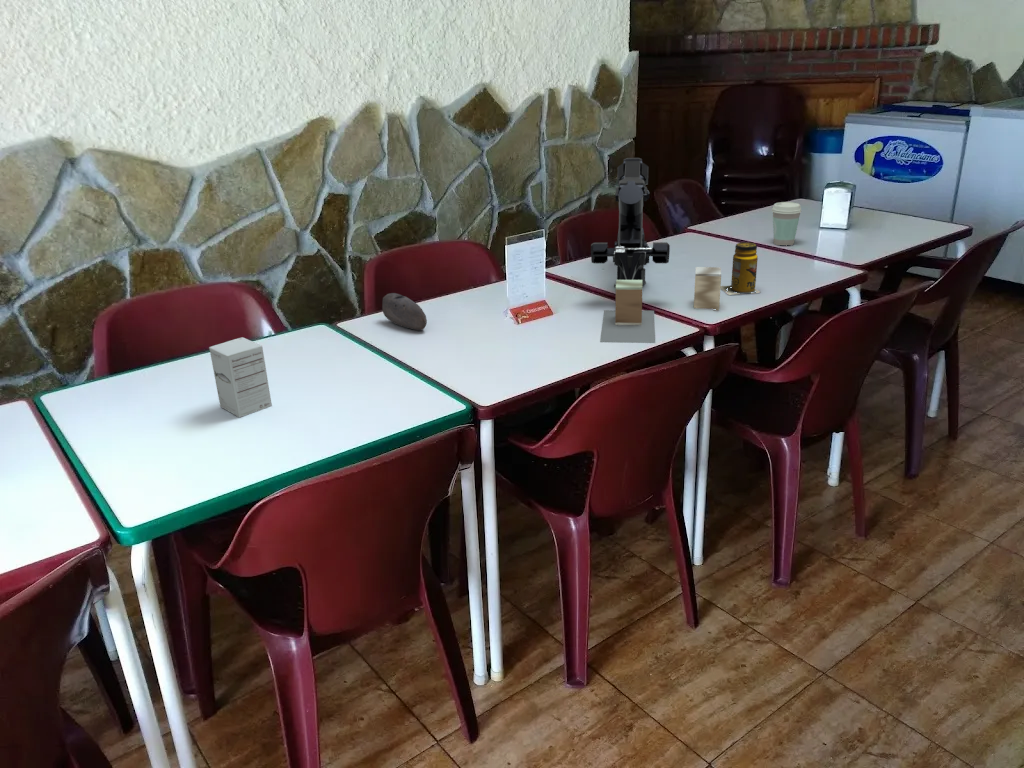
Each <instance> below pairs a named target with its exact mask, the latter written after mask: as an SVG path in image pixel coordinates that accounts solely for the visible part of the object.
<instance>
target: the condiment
mask: <svg viewBox="0 0 1024 768" xmlns="http://www.w3.org/2000/svg"><path fill="white" fill-rule="evenodd" d="M757 249H758V246H757V244H756V243H754V242H746V241H745V242H738V243H736V244H735V249H734V254H733V255H732V256H733V257H732V267H731V270H732V271H731V280H730V281H731V283H730V284H731V285H721V288H720V290H721V291H723V292H724V293H726V294H727V295H728V296H731V295H741V294H740V293H751V292H755V291H756V293H755V294H759V293H761V291H759V290H758V289H757V288H756V283H757V268H758V259H759V258H758V257H759V256H758V254H757ZM730 287H732V288H730ZM727 288H728V291H727V290H726V289H727ZM726 291H727V292H726ZM734 292H737V293H734ZM751 294H753V293H751Z"/></svg>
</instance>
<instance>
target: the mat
mask: <svg viewBox="0 0 1024 768" xmlns="http://www.w3.org/2000/svg"><path fill="white" fill-rule="evenodd" d="M615 311H616V309H615V310H614V309H607V310H604V309H603V316H602V324H601V331H600V332H601V333H600V340H599V342H600V343H622V344H623V343H629V344H631V343H632V344H633V343H637V344H644V343H645V344H656V330H655V329H656V325H655V310H642V325H615Z"/></svg>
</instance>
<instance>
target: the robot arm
mask: <svg viewBox="0 0 1024 768" xmlns="http://www.w3.org/2000/svg"><path fill="white" fill-rule="evenodd" d="M616 181H617V185H618V186H616V187H615V202H618V211H619V212H618V233H617V237H616V238H617V240H616V241H614V247H609V245H608V242H592V243H591V244H590V259H591V260H590V261H591V263H592V264H606V263H607V262H608V260H609V259H608V257H611V258H612V263H614V266H615V267H616V266H617V267H616V268H617V269H616V270H617V271H616V272H617V273H616V275H617V276H616V280H642V287H643V286H644V285H646V283H647V281H646V268H645V267H644V266H647V264H650V257H652V258H651V260H652V262H653V263H655V264H668V263H669V261H670V251H671V245H670V243H669V242H667V241H665V242H663V241H662V242H661V241H659V242H656V241H655V242H653V243H652V247H650V246H649V245H648V241H645V232H644V227H643V216H644V215H643V212H644V211H643V207H644V204H645V202H647V201H648V199H650V191H649V190H648V186H646V185H649V166H648V165H647V164H646V163H644V162H643V159H642V158H640V157H627V158H624V159H623V162H622V163H621V164H620V165H618V166H617V179H616ZM614 287H615V288H616V283H615V284H614Z"/></svg>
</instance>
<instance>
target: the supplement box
mask: <svg viewBox="0 0 1024 768" xmlns="http://www.w3.org/2000/svg"><path fill="white" fill-rule="evenodd" d="M208 350H209V353H210V354H209V355H210V357H211V358H210V359H211V365H212V369H213V374H214V375H213V376H214V379H215V381H214V382H215V386H216V390H217V397H218V401H219V406H220V408H222V409H224V410H226V411H227V412H229V413H231V414H233V415H234V416H236V417H237V418H242V417H245V416H248V415H251V414H253V413H256V412H260V411H262V410H264V409H267V408H270V407H272V406H273V404H272V398H271V392H270V387H269V379H268V373H267V367H266V360H265V354H264V349H263V345H261V344H259V343H257V342H255V341H252V340H250V339H248V338H245V337H243V336H242V337H238V338H234V339H232V340H227V341H225V342H222V343H218V344H215V345H212V346H209V347H208Z"/></svg>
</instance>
